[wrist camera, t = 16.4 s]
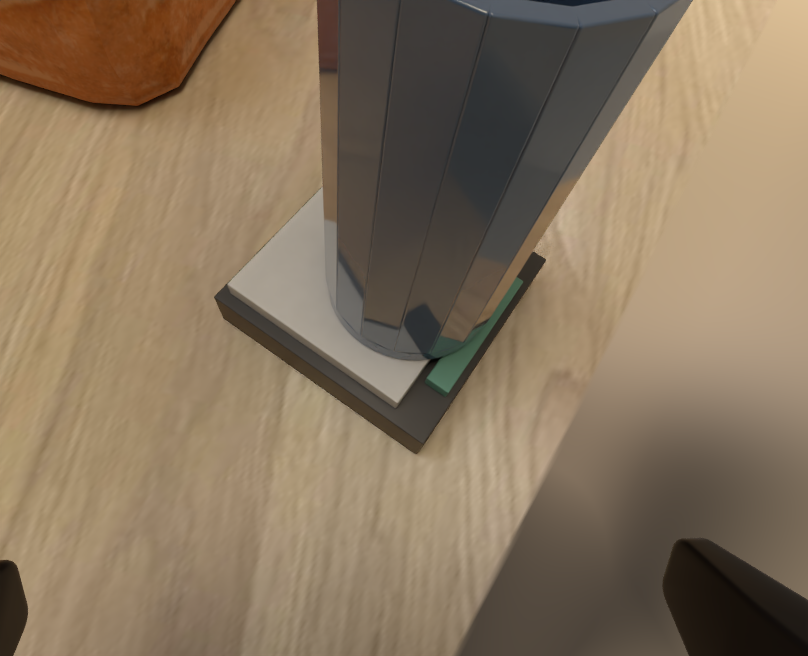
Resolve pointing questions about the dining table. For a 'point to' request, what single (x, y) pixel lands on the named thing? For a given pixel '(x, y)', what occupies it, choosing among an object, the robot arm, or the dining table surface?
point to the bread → (105, 45)
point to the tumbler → (460, 147)
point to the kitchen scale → (334, 346)
